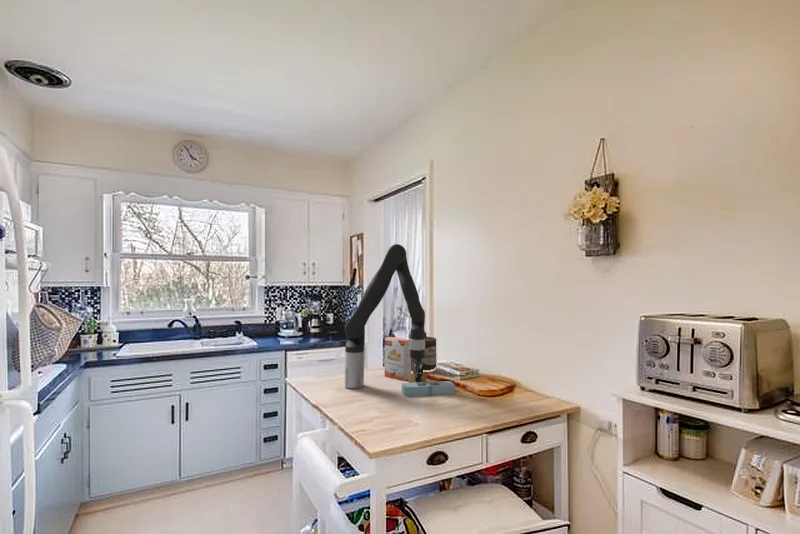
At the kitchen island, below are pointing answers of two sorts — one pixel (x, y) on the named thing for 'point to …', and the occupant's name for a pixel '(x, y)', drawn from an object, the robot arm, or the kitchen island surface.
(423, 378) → the clip
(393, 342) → the cracker box
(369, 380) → the kitchen island surface
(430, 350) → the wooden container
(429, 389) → the light blue long block
